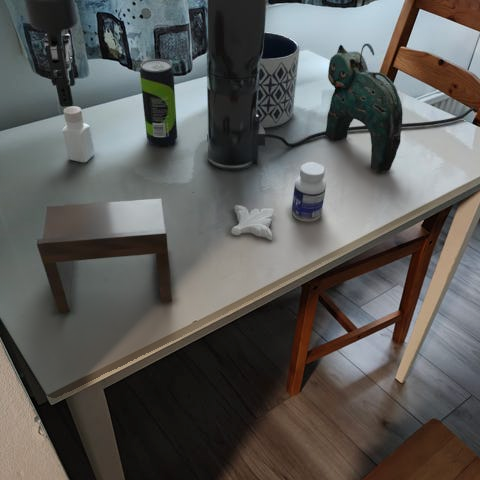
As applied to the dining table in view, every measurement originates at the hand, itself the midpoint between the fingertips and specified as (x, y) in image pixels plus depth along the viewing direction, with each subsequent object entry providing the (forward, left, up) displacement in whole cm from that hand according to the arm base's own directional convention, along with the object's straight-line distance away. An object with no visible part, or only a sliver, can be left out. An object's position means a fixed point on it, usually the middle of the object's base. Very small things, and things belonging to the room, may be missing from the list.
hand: (68, 95), depth 93 cm
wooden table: (-6, +37, -12) cm, 39 cm away
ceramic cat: (-55, +4, -12) cm, 57 cm away
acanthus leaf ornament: (-29, +26, -12) cm, 41 cm away
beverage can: (-16, -5, -12) cm, 21 cm away
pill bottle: (-39, +24, -12) cm, 48 cm away
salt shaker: (0, 0, -12) cm, 12 cm away
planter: (-38, -15, -12) cm, 43 cm away
